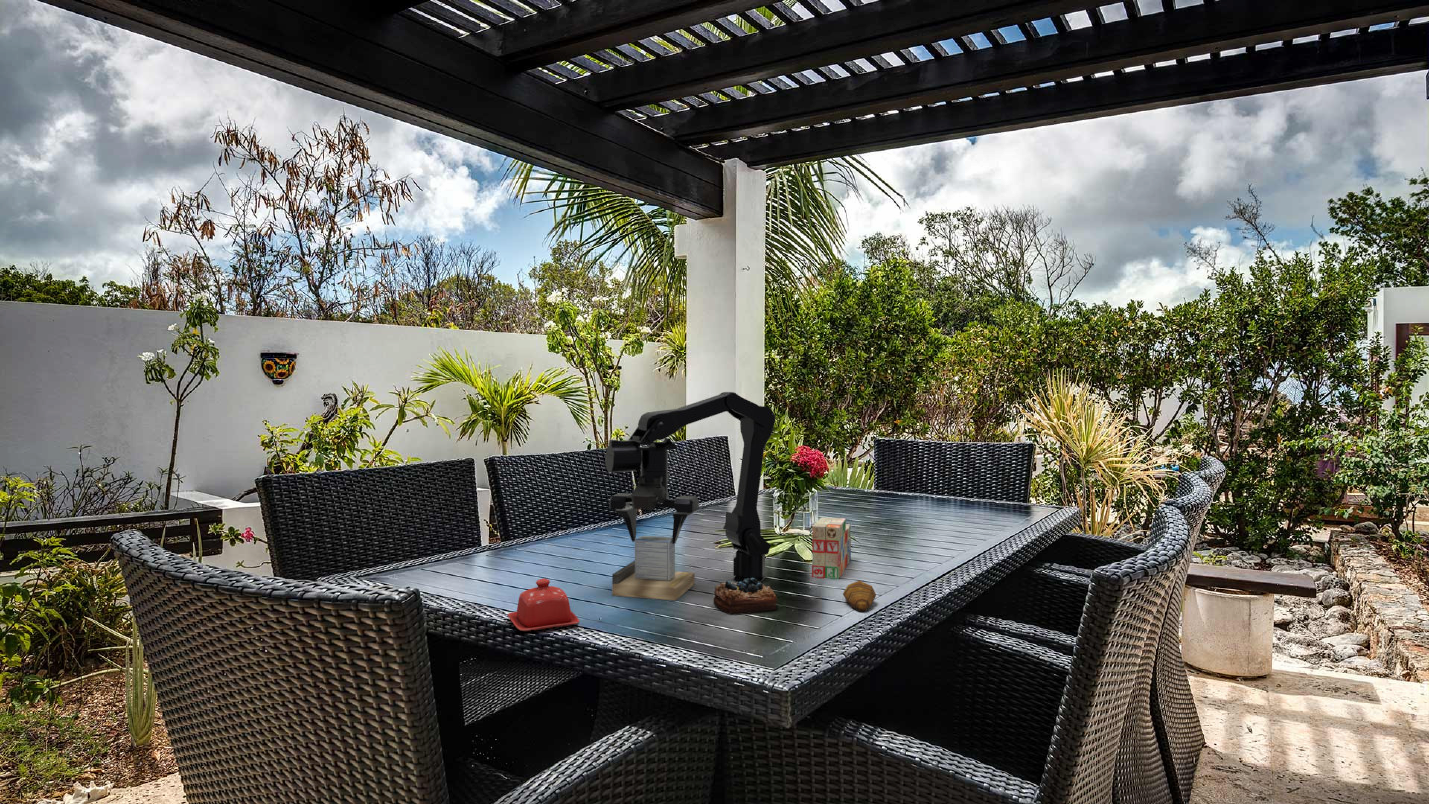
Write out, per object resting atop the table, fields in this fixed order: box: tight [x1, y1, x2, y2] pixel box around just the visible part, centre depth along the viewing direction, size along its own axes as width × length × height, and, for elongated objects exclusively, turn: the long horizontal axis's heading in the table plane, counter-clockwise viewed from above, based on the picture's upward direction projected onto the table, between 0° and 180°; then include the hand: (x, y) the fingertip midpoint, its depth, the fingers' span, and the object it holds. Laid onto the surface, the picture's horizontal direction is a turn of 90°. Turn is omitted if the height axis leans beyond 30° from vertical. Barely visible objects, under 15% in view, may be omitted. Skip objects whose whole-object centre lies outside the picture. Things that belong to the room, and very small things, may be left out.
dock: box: [611, 560, 696, 601], centre depth 174 cm, size 14×14×4 cm
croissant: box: [842, 580, 877, 613], centre depth 164 cm, size 14×7×5 cm, turn 176°
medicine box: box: [634, 535, 676, 581], centre depth 174 cm, size 8×4×9 cm, turn 75°
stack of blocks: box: [811, 516, 852, 580], centre depth 195 cm, size 21×6×12 cm, turn 163°
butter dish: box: [507, 578, 580, 632], centre depth 150 cm, size 12×12×8 cm
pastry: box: [713, 578, 778, 616], centre depth 162 cm, size 11×12×6 cm
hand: (653, 542), depth 174 cm, fingers open, 9 cm apart
